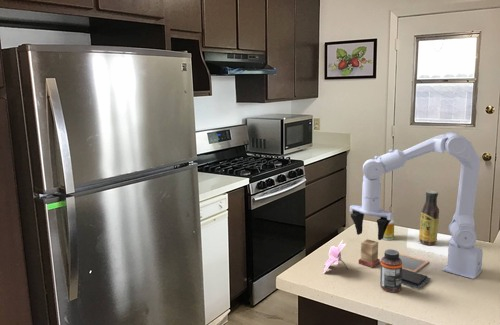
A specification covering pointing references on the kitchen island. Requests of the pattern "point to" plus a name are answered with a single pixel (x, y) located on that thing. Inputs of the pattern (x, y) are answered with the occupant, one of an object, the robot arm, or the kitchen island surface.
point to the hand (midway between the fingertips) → (369, 236)
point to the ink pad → (414, 279)
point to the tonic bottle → (429, 219)
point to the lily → (334, 255)
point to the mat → (412, 263)
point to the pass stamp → (369, 253)
